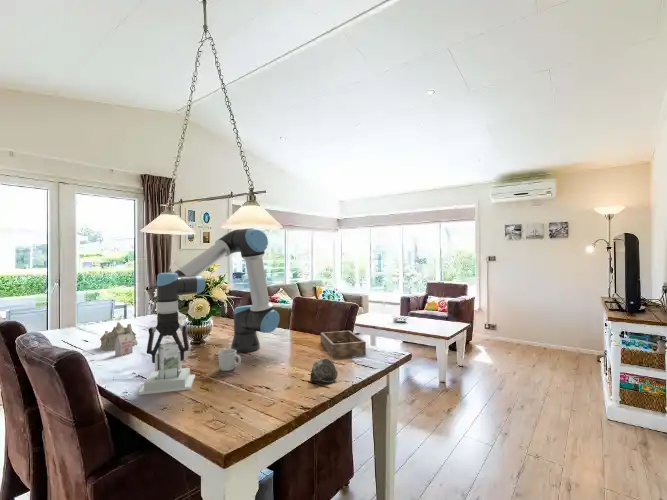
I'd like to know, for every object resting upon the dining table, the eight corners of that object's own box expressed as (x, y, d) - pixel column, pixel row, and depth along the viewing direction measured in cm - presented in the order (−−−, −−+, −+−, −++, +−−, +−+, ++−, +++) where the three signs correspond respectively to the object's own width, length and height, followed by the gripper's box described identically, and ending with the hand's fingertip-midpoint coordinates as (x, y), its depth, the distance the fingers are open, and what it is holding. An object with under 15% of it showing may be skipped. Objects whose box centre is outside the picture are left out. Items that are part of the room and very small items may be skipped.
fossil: (327, 385, 133) (316, 361, 136) (311, 392, 138) (300, 368, 140) (342, 376, 142) (332, 353, 145) (326, 382, 147) (317, 360, 149)
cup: (245, 368, 157) (245, 350, 157) (235, 373, 149) (235, 355, 149) (225, 365, 160) (225, 348, 160) (214, 371, 153) (214, 353, 153)
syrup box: (173, 376, 141) (172, 340, 141) (179, 380, 137) (178, 343, 137) (158, 380, 137) (157, 343, 137) (163, 384, 133) (163, 346, 133)
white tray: (195, 376, 146) (195, 367, 146) (190, 389, 133) (190, 378, 133) (147, 381, 142) (147, 371, 142) (138, 394, 128) (138, 384, 128)
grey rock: (141, 344, 199) (139, 318, 199) (111, 352, 185) (108, 324, 185) (126, 342, 207) (124, 317, 207) (96, 350, 193) (94, 323, 193)
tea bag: (115, 355, 178) (115, 336, 178) (128, 352, 184) (128, 333, 184) (119, 356, 177) (119, 336, 177) (132, 353, 183) (132, 333, 183)
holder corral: (349, 340, 202) (349, 330, 202) (365, 353, 176) (365, 341, 176) (320, 343, 197) (320, 332, 197) (332, 356, 172) (332, 344, 172)
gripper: (196, 308, 144) (197, 364, 144) (141, 311, 138) (142, 369, 138) (194, 311, 136) (195, 370, 136) (136, 315, 131) (136, 375, 131)
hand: (168, 369), depth 137 cm, fingers closed on syrup box, 8 cm apart
